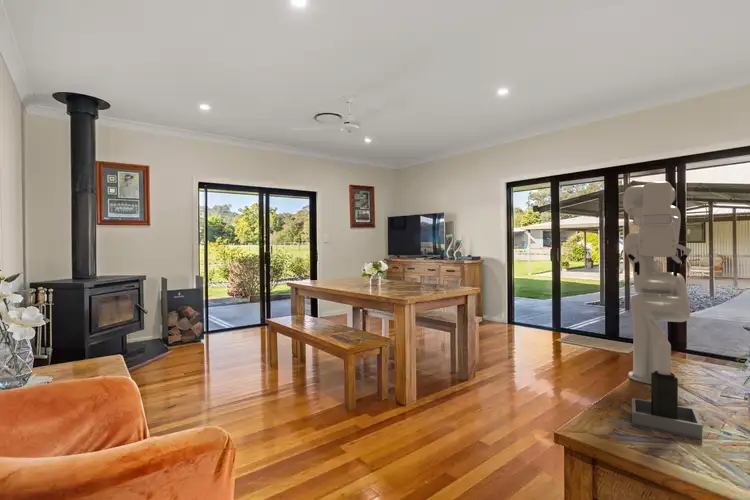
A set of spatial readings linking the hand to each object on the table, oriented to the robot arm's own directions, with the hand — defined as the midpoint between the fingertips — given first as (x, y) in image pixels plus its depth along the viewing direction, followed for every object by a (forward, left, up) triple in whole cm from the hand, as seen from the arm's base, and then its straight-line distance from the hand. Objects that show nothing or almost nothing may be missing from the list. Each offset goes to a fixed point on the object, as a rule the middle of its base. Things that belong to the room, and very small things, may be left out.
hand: (656, 275), depth 125 cm
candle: (+18, +1, -40) cm, 44 cm away
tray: (+18, +1, -40) cm, 44 cm away
